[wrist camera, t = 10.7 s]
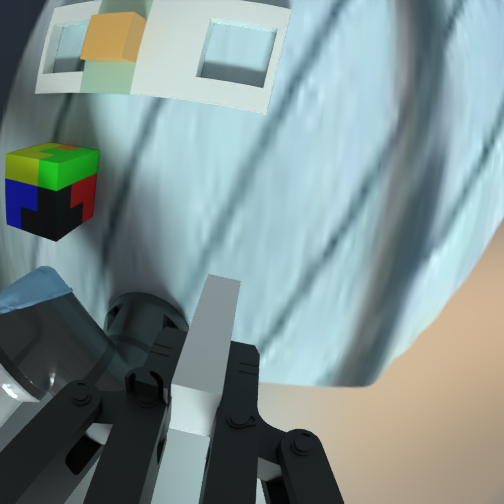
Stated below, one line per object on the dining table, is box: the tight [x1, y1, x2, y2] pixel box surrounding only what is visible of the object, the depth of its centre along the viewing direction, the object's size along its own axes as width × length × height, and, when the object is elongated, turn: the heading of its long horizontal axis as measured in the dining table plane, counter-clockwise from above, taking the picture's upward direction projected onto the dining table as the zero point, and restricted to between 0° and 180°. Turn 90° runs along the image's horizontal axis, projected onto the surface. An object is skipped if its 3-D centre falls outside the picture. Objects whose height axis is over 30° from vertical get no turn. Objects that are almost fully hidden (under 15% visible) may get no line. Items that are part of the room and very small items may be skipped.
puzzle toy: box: [5, 142, 100, 242], centre depth 34 cm, size 10×10×10 cm
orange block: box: [80, 12, 147, 63], centre depth 26 cm, size 6×6×4 cm
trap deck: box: [35, 0, 292, 114], centre depth 30 cm, size 14×34×2 cm, turn 78°
